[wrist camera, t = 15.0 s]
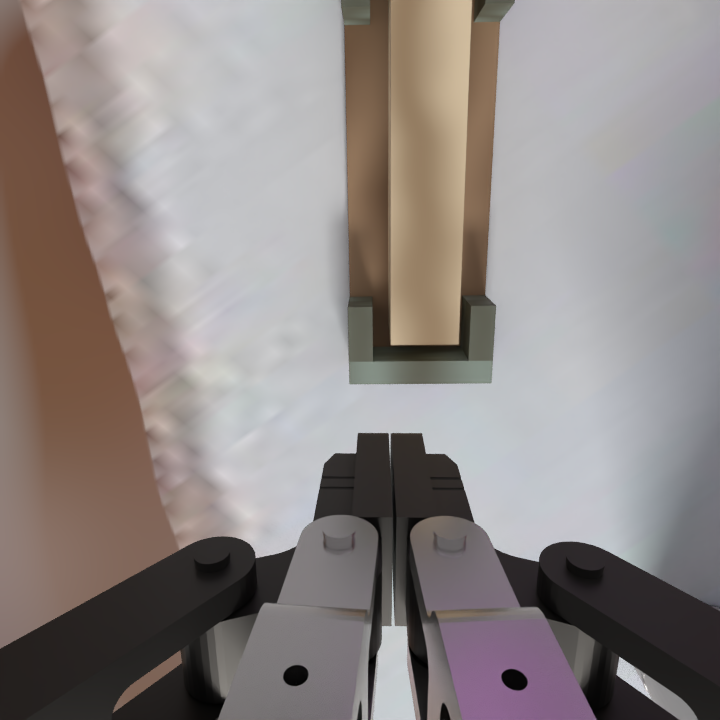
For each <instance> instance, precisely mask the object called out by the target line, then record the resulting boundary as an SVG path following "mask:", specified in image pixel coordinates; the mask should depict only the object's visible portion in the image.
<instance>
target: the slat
mask: <svg viewBox="0 0 720 720" xmlns="http://www.w3.org/2000/svg"><path fill="white" fill-rule="evenodd" d="M471 13H472V0H388V325H389V334H390V342H391V345H456V344H459V323H460V297H461V271H462V245H463V220H464V194H465V168H466V142H467V116H468V91H469V65H470V39H471Z"/></svg>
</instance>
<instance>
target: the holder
mask: <svg viewBox="0 0 720 720" xmlns="http://www.w3.org/2000/svg"><path fill="white" fill-rule="evenodd" d="M514 1H515V0H472V13H471V39H470V65H469V91H468V116H467V142H466V168H465V194H464V220H463V245H462V271H461V297H460V323H459V344H456V345H391V342H390V334H389V325H388V0H341V8H342V13H343V19H344V27H345V76H346V125H347V175H348V224H349V273H350V299H349V304H348V336H349V382H350V384H456V383H491V380H492V364H493V347H494V331H495V314H496V305H495V304H494V303H493V302H492V301H491V300H489V299H488V298H487V297H486V296H485V286H486V267H487V249H488V231H489V212H490V194H491V175H492V157H493V138H494V120H495V102H496V83H497V65H498V46H499V28H500V21H501V20H502V18H503V17H504V16H505V14H506V13H507V12H508V11H509V9H510V8H511V7H512V5H513V4H514Z"/></svg>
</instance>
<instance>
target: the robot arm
mask: <svg viewBox="0 0 720 720" xmlns="http://www.w3.org/2000/svg"><path fill="white" fill-rule="evenodd" d="M392 570H393V593H394V616H395V626H407V635H408V645H407V666H408V672H409V678H410V685H411V691H412V698H413V704H414V710H415V717H416V720H720V608H718V607H714V606H709V605H707V604H705V603H704V602H702V601H700V600H698V599H696V598H694V597H692V596H690V595H689V594H687V593H685V592H683V591H681V590H679V589H677V588H675V587H673V586H672V585H670V584H668V583H666V582H664V581H662V580H660V579H658V578H657V577H655V576H653V575H651V574H649V573H647V572H645V571H643V570H641V569H640V568H638V567H636V566H634V565H632V564H630V563H628V562H626V561H625V560H623V559H621V558H619V557H617V556H615V555H613V554H611V553H610V552H608V551H605V550H603V549H601V548H599V547H596V546H593V545H589V544H586V543H580V542H559V543H555V544H552V545H550V546H548V547H546V548H545V549H544V550H543V551H542V552H541V554H540V557H539V562H536V561H531V560H527V559H522V558H518V557H514V556H511V555H508V554H505V553H502V552H500V551H498V550H496V549H494V547H493V545H492V543H491V541H490V539H489V536H488V535H487V533H486V532H485V531H484V530H483V529H482V528H481V527H480V526H478V525H477V524H475V523H474V520H473V516H472V513H471V510H470V506H469V503H468V500H467V496H466V493H465V490H464V486H463V483H462V480H461V476H460V473H459V469H458V466H457V464H456V463H454V462H453V461H452V460H451V459H450V458H449V457H448V456H446V455H445V454H426V452H425V447H424V442H423V437H422V433H391V457H390V454H389V434H388V433H358V439H357V452H356V454H341V453H335V454H334V455H333V456H332V457H331V458H330V459H329V460H328V461H327V462H326V463H325V464H324V468H323V473H322V479H321V484H320V489H319V494H318V499H317V505H316V510H315V515H314V520H313V522H311V523H310V524H309V525H307V526H306V527H305V528H304V530H303V531H302V533H301V535H300V538H299V541H298V544H297V546H296V547H294V548H292V549H290V550H288V551H285V552H282V553H279V554H275V555H270V556H265V557H260V558H255V552H254V550H253V548H252V547H251V545H250V544H248V543H247V542H245V541H243V540H241V539H238V538H233V537H212V538H207V539H203V540H200V541H197V542H194V543H192V544H190V545H188V546H186V547H185V548H183V549H181V550H179V551H177V552H176V553H174V554H172V555H170V556H168V557H167V558H165V559H163V560H161V561H159V562H157V563H156V564H154V565H152V566H150V567H148V568H146V569H145V570H143V571H141V572H139V573H137V574H136V575H134V576H132V577H130V578H128V579H126V580H125V581H123V582H121V583H119V584H118V585H116V586H114V587H112V588H110V589H109V590H106V591H105V592H103V593H101V594H99V595H97V596H96V597H94V598H92V599H90V600H88V601H86V602H85V603H83V604H81V605H79V606H77V607H76V608H74V609H72V610H70V611H68V612H66V613H65V614H63V615H61V616H59V617H57V618H55V619H54V620H52V621H50V622H48V623H46V624H45V625H43V626H41V627H39V628H37V629H35V630H34V631H32V632H30V633H28V634H26V635H25V636H23V637H21V638H19V639H17V640H16V641H14V642H12V643H10V644H8V645H6V646H4V647H3V648H1V649H0V720H373V713H374V702H375V691H376V679H377V668H378V650H379V648H380V645H381V640H382V626H391V614H392ZM179 650H180V651H181V658H182V664H180V665H179V666H177V667H176V668H175V669H173V670H172V671H171V672H169V673H168V674H166V675H165V676H164V677H162V678H161V679H159V680H158V681H157V682H155V683H154V684H153V685H151V686H150V687H148V688H147V689H146V690H144V691H143V692H141V693H140V694H139V695H137V696H136V697H135V698H134V699H132V700H130V701H129V702H128V703H126V704H125V705H124V706H122V707H121V708H120V709H118V710H117V711H115V712H114V713H113V710H114V707H115V705H116V703H117V701H118V699H119V698H120V696H121V695H122V694H123V692H124V691H125V690H126V689H127V688H128V687H129V686H130V685H131V684H133V683H134V682H135V681H137V680H138V679H140V678H141V677H142V676H144V675H145V674H147V673H148V672H150V671H151V670H152V669H154V668H155V667H157V666H158V665H159V664H161V663H162V662H164V661H165V660H167V659H168V658H170V657H171V656H172V655H174V654H175V653H177V652H178V651H179ZM619 656H620V657H621V658H622V659H624V660H625V661H627V662H628V663H630V664H631V665H633V666H634V667H635V669H636V671H637V673H638V675H639V676H640V678H641V680H642V682H643V685H644V687H645V689H646V691H647V692H648V693H649V695H650V697H651V699H652V700H651V699H649V698H648V697H646V696H645V695H644V694H642V693H641V692H639V691H638V690H636V689H635V688H634V687H632V686H631V685H629V684H628V683H627V682H625V681H624V680H622V679H621V678H620V677H618V676H617V675H616V674H617V668H618V661H619Z"/></svg>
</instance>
